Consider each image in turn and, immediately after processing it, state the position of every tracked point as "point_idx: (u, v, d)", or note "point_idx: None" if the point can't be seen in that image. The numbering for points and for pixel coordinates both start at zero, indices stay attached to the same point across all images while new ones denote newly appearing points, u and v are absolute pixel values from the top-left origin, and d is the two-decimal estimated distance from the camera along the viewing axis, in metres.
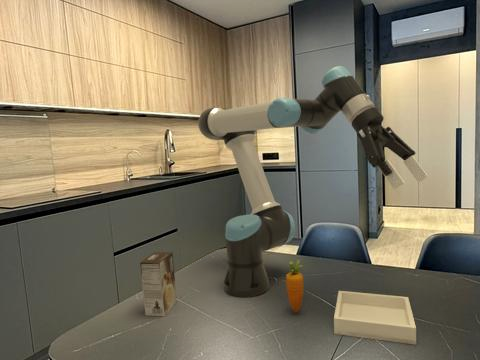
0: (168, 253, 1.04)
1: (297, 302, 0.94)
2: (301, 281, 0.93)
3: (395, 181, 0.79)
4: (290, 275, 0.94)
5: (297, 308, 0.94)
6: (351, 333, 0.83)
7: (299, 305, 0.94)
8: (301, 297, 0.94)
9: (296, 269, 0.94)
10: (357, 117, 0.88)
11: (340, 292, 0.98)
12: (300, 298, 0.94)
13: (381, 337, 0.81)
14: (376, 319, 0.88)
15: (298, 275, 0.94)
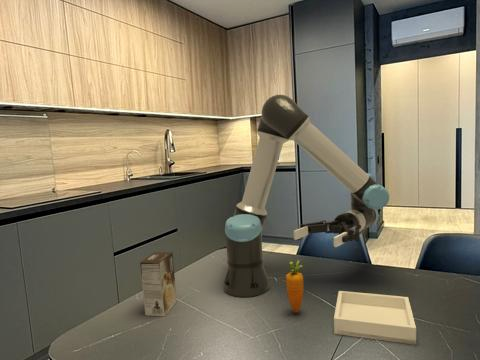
0: (168, 253, 1.04)
1: (297, 302, 0.94)
2: (301, 281, 0.93)
3: (338, 241, 0.96)
4: (290, 275, 0.94)
5: (297, 308, 0.94)
6: (351, 333, 0.83)
7: (299, 305, 0.94)
8: (301, 297, 0.94)
9: (296, 269, 0.94)
10: (358, 225, 1.12)
11: (340, 292, 0.98)
12: (300, 298, 0.94)
13: (381, 337, 0.81)
14: (376, 319, 0.88)
15: (298, 275, 0.94)
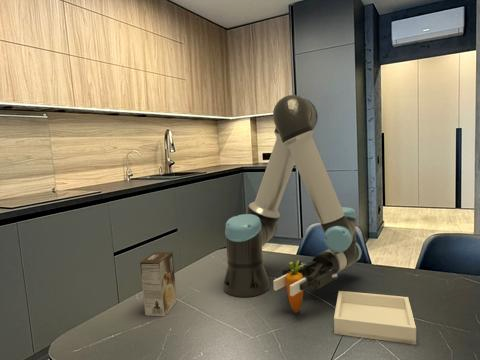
0: (168, 253, 1.04)
1: (297, 302, 0.94)
2: None
3: (295, 289, 0.90)
4: (290, 275, 0.94)
5: (297, 308, 0.94)
6: (351, 333, 0.83)
7: (299, 305, 0.94)
8: (301, 297, 0.94)
9: (296, 269, 0.94)
10: (338, 266, 1.04)
11: (340, 292, 0.98)
12: (300, 298, 0.94)
13: (381, 337, 0.81)
14: (376, 319, 0.88)
15: (298, 275, 0.94)
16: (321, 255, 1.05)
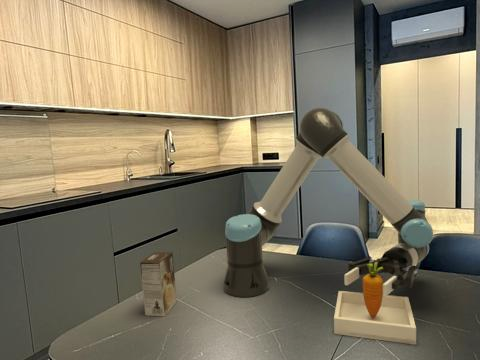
0: (168, 253, 1.04)
1: (377, 307, 0.87)
2: (381, 284, 0.86)
3: (388, 288, 0.82)
4: (369, 278, 0.87)
5: (375, 313, 0.87)
6: (351, 333, 0.83)
7: (378, 310, 0.87)
8: (380, 301, 0.87)
9: (375, 271, 0.87)
10: (411, 263, 0.97)
11: (340, 292, 0.98)
12: (379, 302, 0.87)
13: (381, 337, 0.81)
14: (376, 319, 0.88)
15: (378, 277, 0.86)
16: (393, 251, 0.97)
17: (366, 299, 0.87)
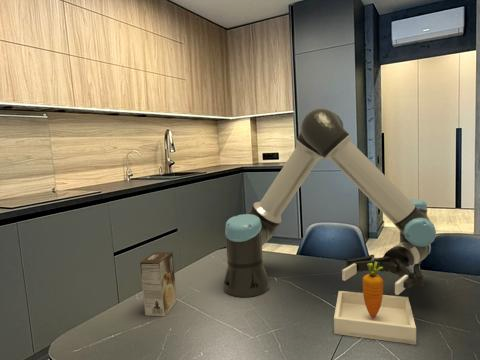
0: (168, 253, 1.04)
1: (377, 307, 0.87)
2: (381, 284, 0.86)
3: (400, 287, 0.82)
4: (369, 277, 0.87)
5: (375, 313, 0.88)
6: (351, 333, 0.83)
7: (378, 310, 0.87)
8: (380, 301, 0.87)
9: (375, 271, 0.87)
10: (413, 262, 0.97)
11: (340, 292, 0.98)
12: (379, 302, 0.87)
13: (381, 337, 0.81)
14: (376, 319, 0.88)
15: (378, 277, 0.87)
16: (395, 250, 0.98)
17: (366, 299, 0.87)
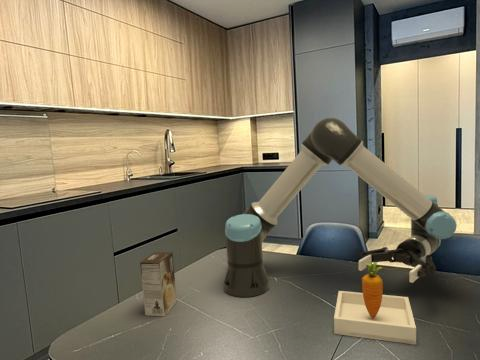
0: (168, 253, 1.04)
1: (376, 307, 0.87)
2: (381, 284, 0.86)
3: (414, 276, 0.87)
4: (368, 278, 0.87)
5: (375, 313, 0.87)
6: (351, 333, 0.83)
7: (377, 310, 0.87)
8: (380, 301, 0.87)
9: (375, 271, 0.87)
10: (425, 253, 1.03)
11: (340, 292, 0.98)
12: (379, 302, 0.87)
13: (381, 337, 0.81)
14: (376, 319, 0.88)
15: (377, 277, 0.86)
16: (407, 242, 1.04)
17: (366, 299, 0.87)
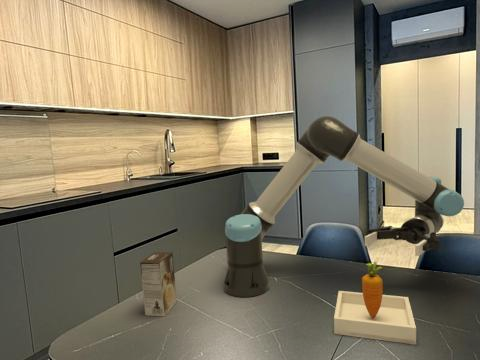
0: (168, 253, 1.04)
1: (376, 307, 0.87)
2: (381, 284, 0.86)
3: (420, 249, 0.90)
4: (368, 278, 0.87)
5: (375, 313, 0.88)
6: (351, 333, 0.83)
7: (377, 310, 0.87)
8: (380, 301, 0.87)
9: (375, 271, 0.87)
10: (429, 232, 1.05)
11: (340, 292, 0.98)
12: (379, 302, 0.87)
13: (381, 337, 0.81)
14: (376, 319, 0.88)
15: (377, 277, 0.87)
16: (412, 221, 1.06)
17: (366, 299, 0.87)
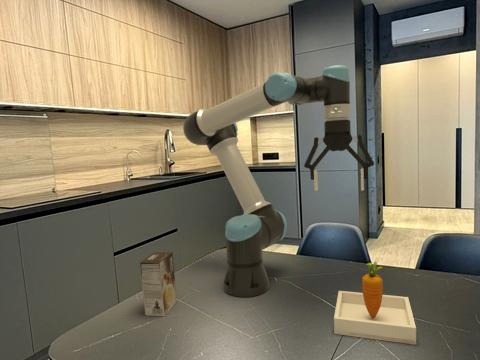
0: (168, 253, 1.04)
1: (376, 307, 0.87)
2: (381, 284, 0.86)
3: None
4: (368, 277, 0.87)
5: (375, 313, 0.88)
6: (351, 333, 0.83)
7: (378, 310, 0.87)
8: (380, 301, 0.87)
9: (375, 271, 0.87)
10: (324, 123, 1.04)
11: (340, 292, 0.98)
12: (379, 302, 0.87)
13: (381, 337, 0.81)
14: (376, 319, 0.88)
15: (377, 277, 0.87)
16: None
17: (366, 299, 0.87)
